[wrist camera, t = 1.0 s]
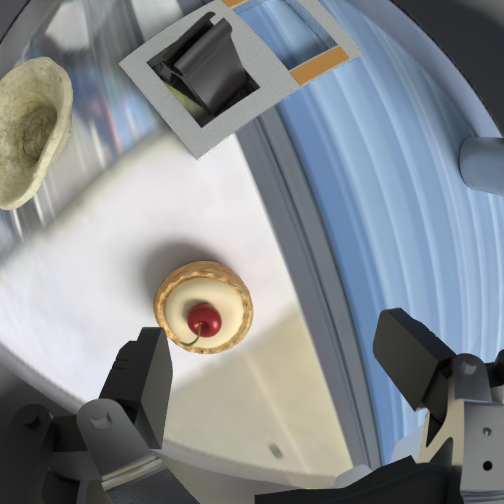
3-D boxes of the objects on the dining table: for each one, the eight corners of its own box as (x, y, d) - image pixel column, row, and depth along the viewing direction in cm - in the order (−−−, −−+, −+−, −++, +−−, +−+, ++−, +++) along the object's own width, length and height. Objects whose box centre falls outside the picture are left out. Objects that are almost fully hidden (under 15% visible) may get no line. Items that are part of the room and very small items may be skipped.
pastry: (266, 291, 38) (283, 326, 29) (211, 347, 39) (213, 390, 31) (196, 234, 34) (192, 258, 26) (142, 301, 36) (127, 338, 27)
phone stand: (159, 78, 28) (130, 39, 16) (191, 43, 27) (180, -6, 15) (215, 117, 30) (212, 91, 19) (248, 82, 29) (262, 42, 18)
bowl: (76, 182, 34) (-8, 223, 25) (55, 75, 27) (-30, 106, 18) (98, 170, 24) (-26, 229, 15) (74, 26, 17) (-45, 65, 8)
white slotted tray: (282, -20, 24) (286, -30, 22) (355, 59, 29) (364, 53, 26) (124, 69, 27) (117, 63, 24) (198, 160, 31) (196, 159, 29)
